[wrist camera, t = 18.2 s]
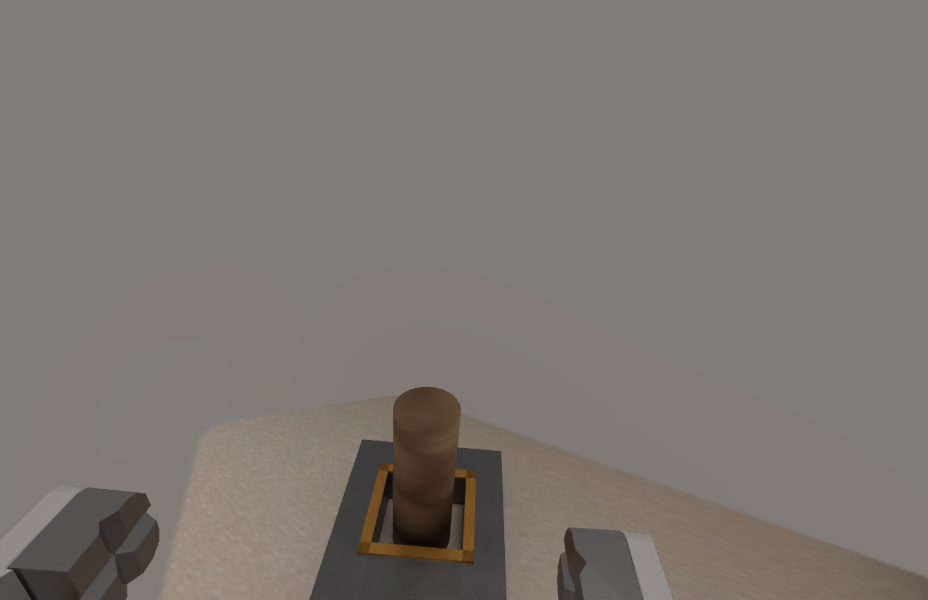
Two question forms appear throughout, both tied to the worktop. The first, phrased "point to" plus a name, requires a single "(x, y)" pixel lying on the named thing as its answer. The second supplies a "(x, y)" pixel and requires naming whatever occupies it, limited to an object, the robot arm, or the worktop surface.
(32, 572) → the robot arm
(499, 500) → the grey slotted board
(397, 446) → the peg
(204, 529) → the worktop surface
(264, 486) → the worktop surface
